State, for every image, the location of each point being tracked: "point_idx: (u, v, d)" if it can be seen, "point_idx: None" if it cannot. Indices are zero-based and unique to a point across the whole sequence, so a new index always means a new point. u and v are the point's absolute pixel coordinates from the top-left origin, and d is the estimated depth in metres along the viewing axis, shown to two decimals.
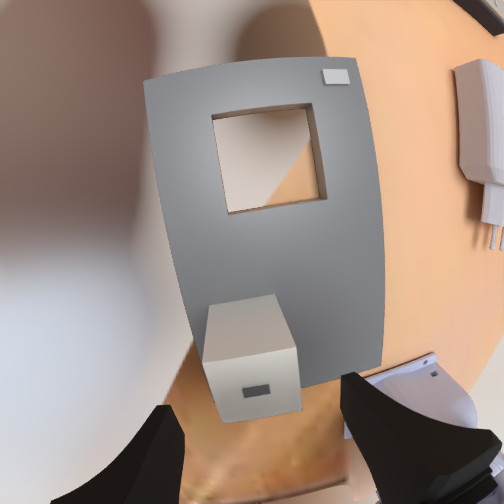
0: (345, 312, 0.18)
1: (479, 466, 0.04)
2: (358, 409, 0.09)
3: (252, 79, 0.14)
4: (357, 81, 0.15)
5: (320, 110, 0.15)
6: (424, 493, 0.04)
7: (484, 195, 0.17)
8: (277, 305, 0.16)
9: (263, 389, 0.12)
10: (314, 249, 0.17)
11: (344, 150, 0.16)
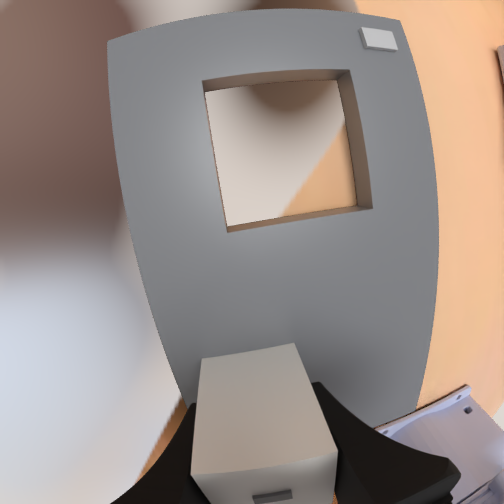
0: (384, 358, 0.13)
1: (432, 495, 0.04)
2: None
3: (263, 33, 0.09)
4: (405, 49, 0.09)
5: (361, 81, 0.09)
6: None
7: None
8: (300, 365, 0.10)
9: (282, 496, 0.06)
10: (352, 280, 0.11)
11: (394, 139, 0.10)
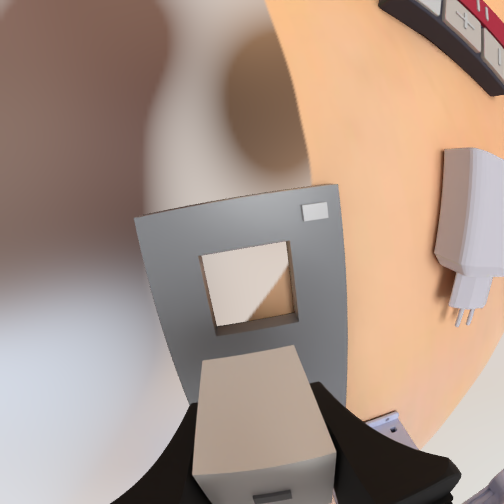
0: None
1: (433, 495, 0.04)
2: None
3: (234, 220, 0.18)
4: (336, 211, 0.18)
5: (297, 247, 0.18)
6: None
7: (454, 281, 0.20)
8: (300, 367, 0.10)
9: (282, 496, 0.06)
10: None
11: (316, 281, 0.19)
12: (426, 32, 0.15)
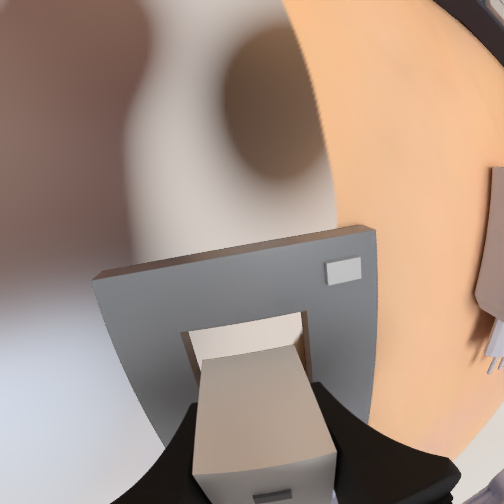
0: None
1: (433, 495, 0.04)
2: None
3: (229, 286, 0.12)
4: (371, 267, 0.12)
5: (316, 318, 0.13)
6: None
7: (494, 327, 0.14)
8: (300, 367, 0.10)
9: (282, 495, 0.06)
10: None
11: (339, 356, 0.14)
12: (466, 18, 0.10)
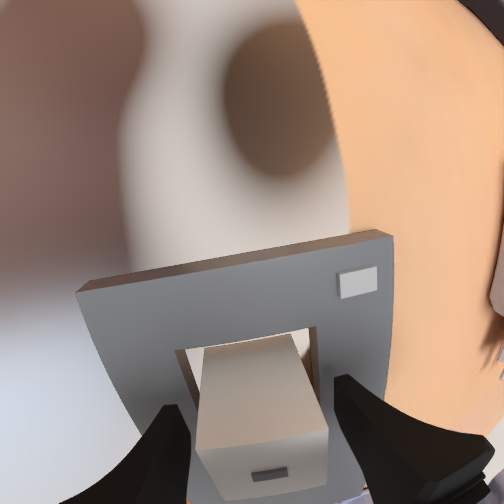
0: (329, 479, 0.15)
1: (471, 472, 0.04)
2: (351, 412, 0.09)
3: (229, 300, 0.11)
4: (388, 278, 0.11)
5: (326, 334, 0.11)
6: (414, 498, 0.04)
7: None
8: (295, 353, 0.11)
9: (279, 473, 0.07)
10: None
11: (349, 373, 0.12)
12: (475, 6, 0.08)
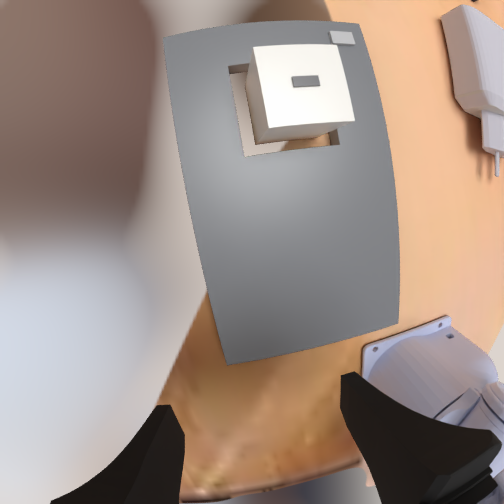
0: (361, 260, 0.18)
1: (479, 466, 0.04)
2: (358, 409, 0.09)
3: (266, 37, 0.14)
4: (361, 43, 0.14)
5: None
6: (424, 493, 0.04)
7: (482, 122, 0.16)
8: None
9: (312, 79, 0.11)
10: (329, 192, 0.17)
11: (353, 101, 0.15)
12: None
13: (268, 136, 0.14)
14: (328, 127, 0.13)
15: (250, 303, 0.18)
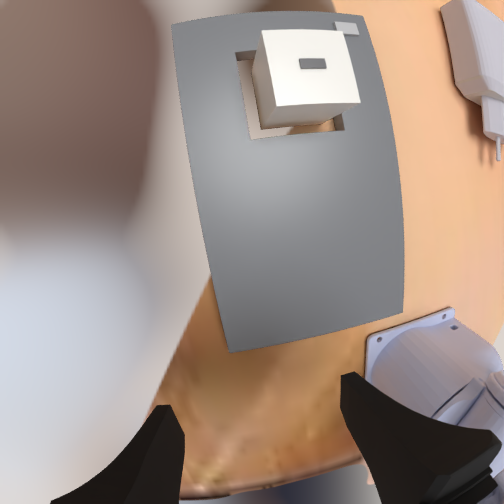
0: (366, 246, 0.18)
1: (479, 466, 0.04)
2: (359, 409, 0.09)
3: (272, 26, 0.14)
4: (365, 34, 0.14)
5: None
6: (424, 493, 0.04)
7: (482, 108, 0.15)
8: None
9: (319, 61, 0.11)
10: (334, 177, 0.16)
11: None
12: None
13: (275, 118, 0.14)
14: (334, 110, 0.13)
15: (254, 288, 0.18)
